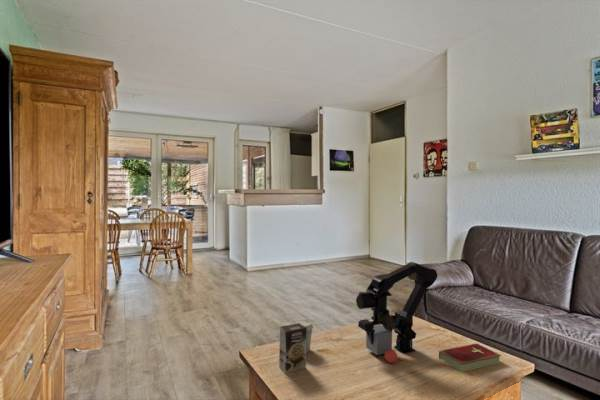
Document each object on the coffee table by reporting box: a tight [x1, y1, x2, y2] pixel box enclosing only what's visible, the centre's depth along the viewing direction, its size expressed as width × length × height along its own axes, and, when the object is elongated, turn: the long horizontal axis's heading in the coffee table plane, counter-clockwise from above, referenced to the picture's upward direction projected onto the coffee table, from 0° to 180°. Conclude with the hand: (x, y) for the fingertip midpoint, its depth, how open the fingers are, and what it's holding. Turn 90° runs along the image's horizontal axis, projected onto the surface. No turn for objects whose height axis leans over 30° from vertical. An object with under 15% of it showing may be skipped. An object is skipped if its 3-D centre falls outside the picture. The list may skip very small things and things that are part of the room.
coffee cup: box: [294, 319, 314, 354], centre depth 147 cm, size 8×8×12 cm
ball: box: [384, 349, 398, 364], centre depth 137 cm, size 5×5×5 cm
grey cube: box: [365, 325, 393, 356], centre depth 144 cm, size 8×8×9 cm
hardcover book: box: [438, 343, 502, 372], centre depth 139 cm, size 12×21×4 cm, turn 111°
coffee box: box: [278, 323, 307, 374], centre depth 132 cm, size 9×6×16 cm
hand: (379, 342), depth 144 cm, fingers closed on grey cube, 8 cm apart
